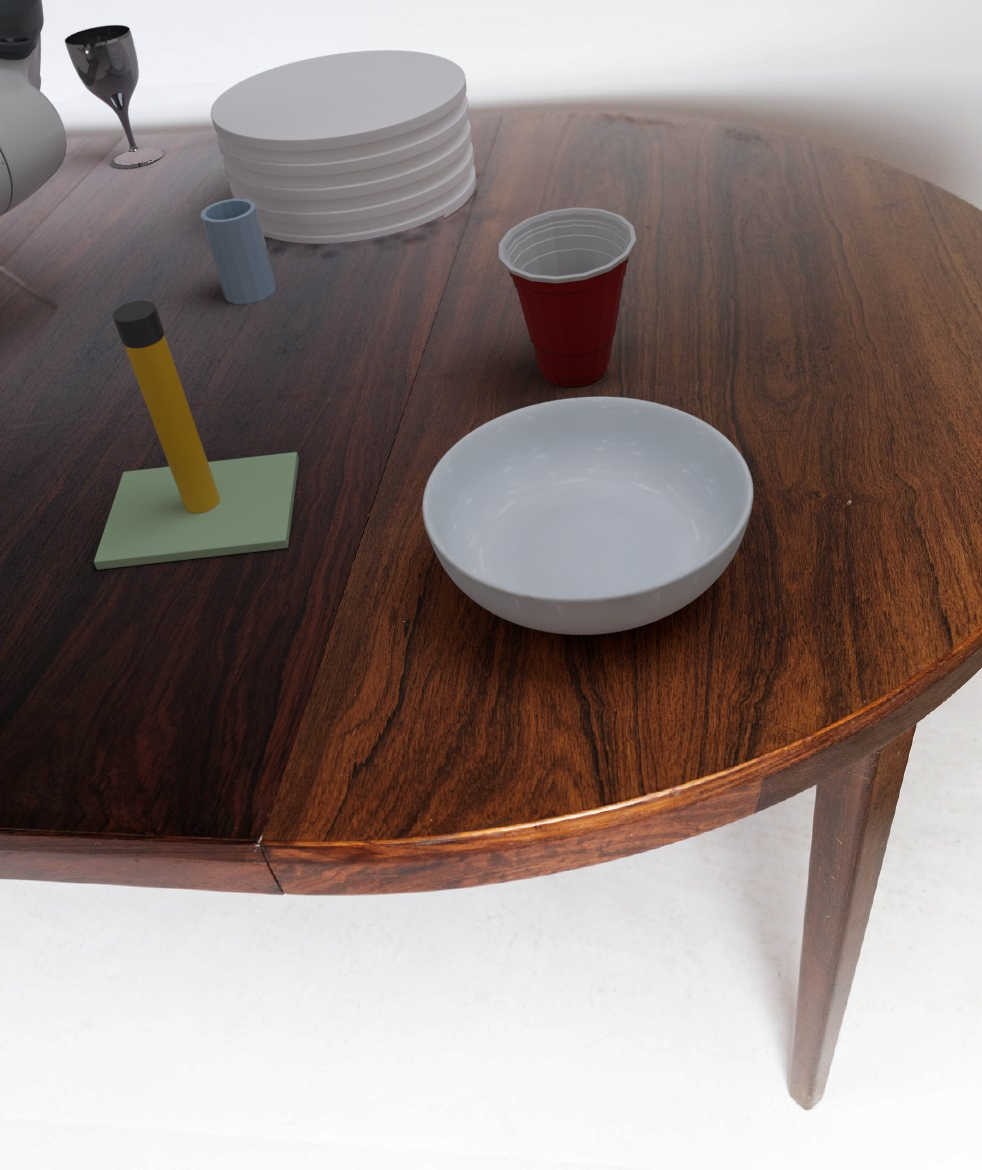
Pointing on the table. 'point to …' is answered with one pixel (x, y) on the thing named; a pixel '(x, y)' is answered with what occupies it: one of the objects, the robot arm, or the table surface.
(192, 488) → the marker
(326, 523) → the table surface
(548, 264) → the plastic cup
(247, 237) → the pen pot
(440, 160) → the plate stack
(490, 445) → the serving bowl
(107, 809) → the table surface
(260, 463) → the felt mat
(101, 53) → the wine glass
